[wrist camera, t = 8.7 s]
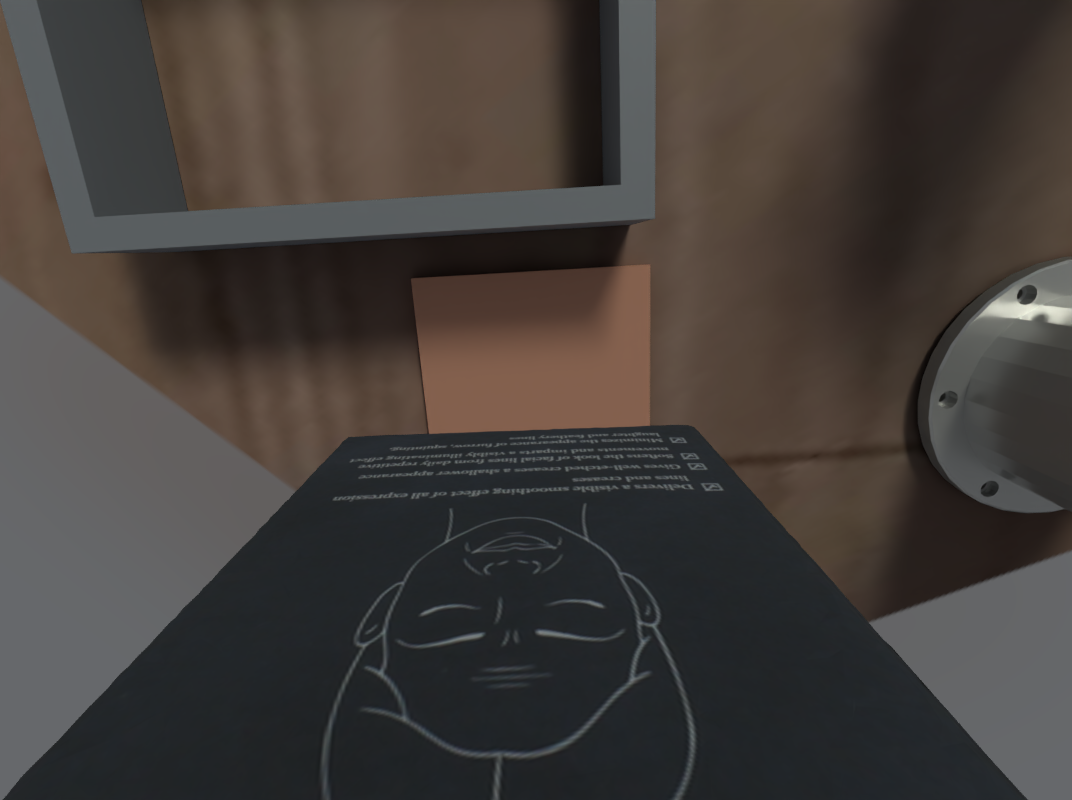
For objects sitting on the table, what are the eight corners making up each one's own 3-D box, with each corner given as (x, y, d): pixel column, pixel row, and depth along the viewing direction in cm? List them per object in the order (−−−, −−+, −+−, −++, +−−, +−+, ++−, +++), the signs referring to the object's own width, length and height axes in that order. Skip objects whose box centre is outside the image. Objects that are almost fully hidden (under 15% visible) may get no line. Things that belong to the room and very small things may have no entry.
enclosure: (626, -236, 20) (657, -411, 15) (630, 225, 24) (655, 218, 19) (67, -191, 20) (-98, -345, 15) (171, 252, 25) (71, 253, 20)
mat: (647, 264, 25) (650, 264, 24) (647, 480, 28) (649, 485, 27) (413, 277, 25) (410, 278, 25) (438, 490, 28) (436, 496, 28)
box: (377, 642, 13) (-136, 1879, 3) (347, 429, 12) (-815, 1520, 2) (690, 635, 13) (1182, 1900, 3) (701, 418, 12) (1748, 1520, 2)
